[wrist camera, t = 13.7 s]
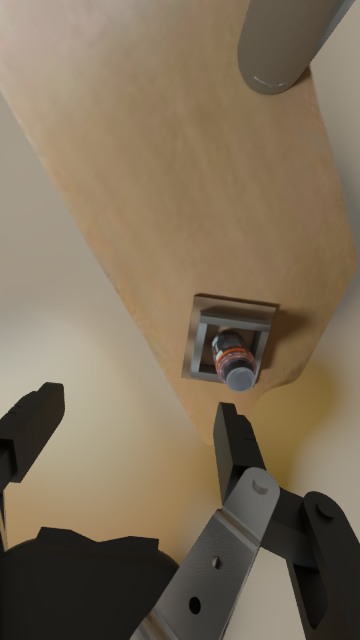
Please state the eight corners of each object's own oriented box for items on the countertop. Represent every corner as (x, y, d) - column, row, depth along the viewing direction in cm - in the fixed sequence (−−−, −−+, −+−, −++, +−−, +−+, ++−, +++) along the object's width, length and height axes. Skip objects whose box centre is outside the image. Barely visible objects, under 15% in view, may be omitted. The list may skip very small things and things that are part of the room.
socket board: (194, 294, 42) (195, 300, 38) (274, 306, 42) (283, 313, 38) (181, 374, 47) (181, 387, 43) (252, 384, 47) (258, 397, 44)
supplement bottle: (204, 340, 43) (210, 374, 33) (233, 322, 42) (249, 352, 32) (221, 364, 45) (233, 405, 34) (250, 348, 44) (271, 384, 33)
